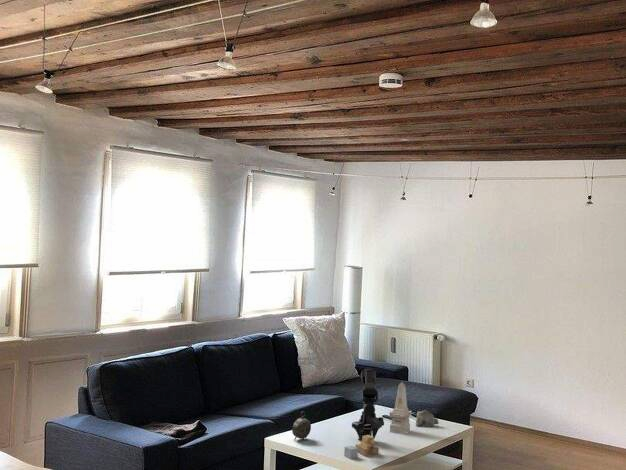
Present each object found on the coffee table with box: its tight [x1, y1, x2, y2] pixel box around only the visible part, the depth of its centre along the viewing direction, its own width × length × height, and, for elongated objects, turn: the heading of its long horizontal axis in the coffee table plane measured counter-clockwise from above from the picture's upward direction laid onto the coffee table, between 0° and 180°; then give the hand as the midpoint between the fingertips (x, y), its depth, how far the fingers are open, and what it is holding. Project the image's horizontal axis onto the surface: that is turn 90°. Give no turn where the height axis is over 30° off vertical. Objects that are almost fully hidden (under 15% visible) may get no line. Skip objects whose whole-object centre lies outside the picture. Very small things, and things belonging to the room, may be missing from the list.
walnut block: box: [354, 443, 380, 457], centre depth 362 cm, size 9×9×4 cm
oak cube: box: [360, 435, 375, 448], centre depth 362 cm, size 5×5×5 cm
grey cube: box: [343, 445, 359, 460], centre depth 354 cm, size 5×5×5 cm
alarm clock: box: [291, 410, 312, 442], centre depth 380 cm, size 11×5×16 cm, turn 131°
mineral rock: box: [415, 409, 440, 427], centre depth 421 cm, size 13×11×10 cm
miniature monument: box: [389, 381, 412, 435], centre depth 406 cm, size 10×10×30 cm
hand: (367, 439), depth 362 cm, fingers open, 9 cm apart
